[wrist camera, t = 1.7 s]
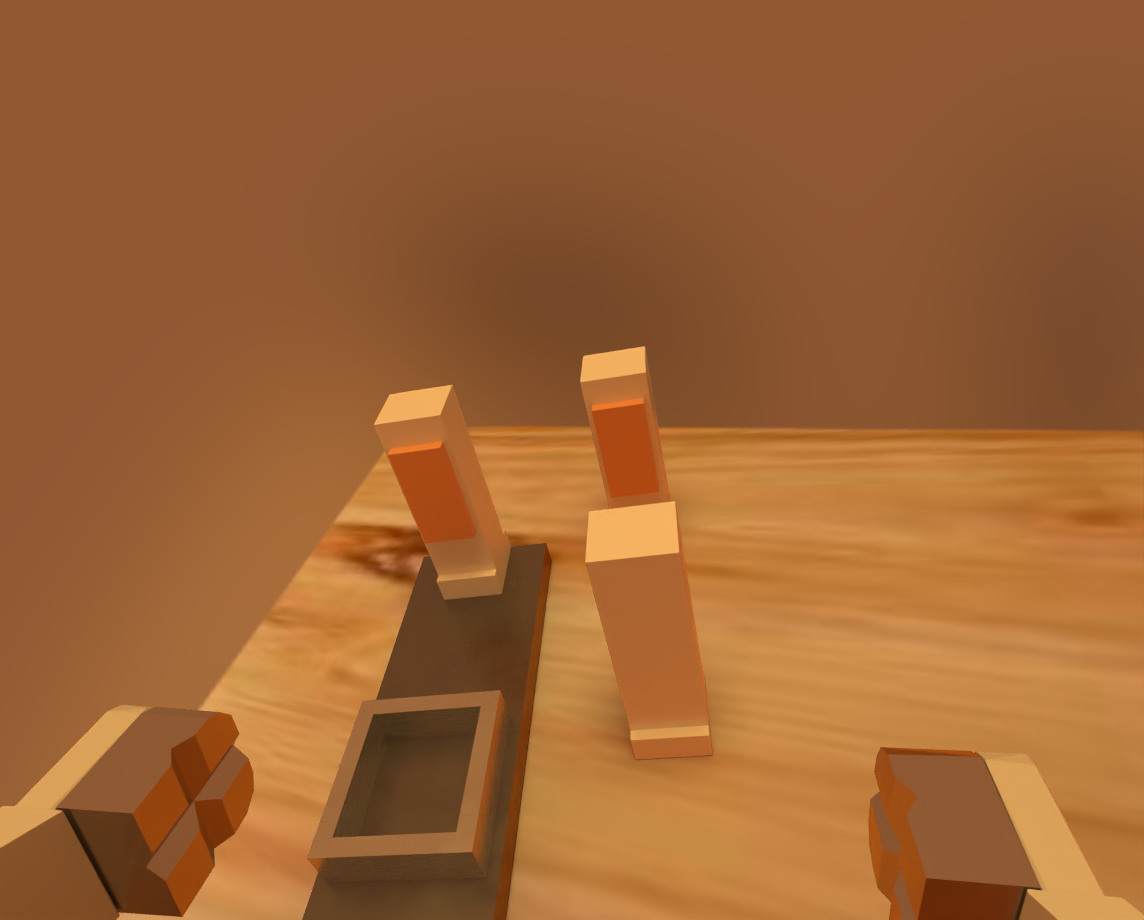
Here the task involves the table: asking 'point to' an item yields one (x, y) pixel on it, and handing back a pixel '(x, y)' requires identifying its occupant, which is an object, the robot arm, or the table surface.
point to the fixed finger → (445, 490)
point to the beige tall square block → (650, 627)
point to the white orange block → (625, 427)
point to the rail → (438, 760)
